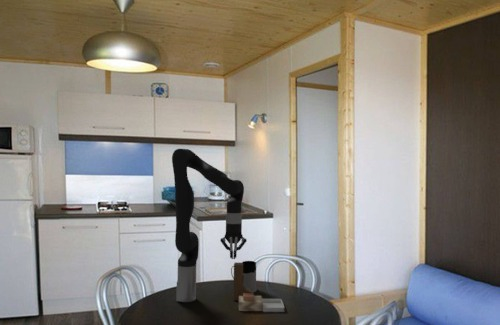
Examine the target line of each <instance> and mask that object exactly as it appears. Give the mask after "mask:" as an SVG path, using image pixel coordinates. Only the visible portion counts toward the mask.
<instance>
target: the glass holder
mask: <svg viewBox="0 0 500 325" xmlns="http://www.w3.org/2000/svg"><path fill="white" fill-rule="evenodd" d="M241 263H243V285H244V287H245V288H247V289H251V290H252V293H255V292H257V262H256V261H254V260H244V261H242V262H241ZM233 269H234V265H233V266H231V268H230V274H231V277H232V279H233V280H234V274H233Z"/></svg>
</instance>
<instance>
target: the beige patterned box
mask: <svg viewBox="0 0 500 325" xmlns="http://www.w3.org/2000/svg"><path fill="white" fill-rule="evenodd" d="M262 299H263V297H262V295H254V301H243V296H239V301H238V312H263V301H262Z"/></svg>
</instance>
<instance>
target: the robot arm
mask: <svg viewBox="0 0 500 325" xmlns="http://www.w3.org/2000/svg"><path fill="white" fill-rule="evenodd" d="M171 163H172V168H173V177H174V201H175V204H174V205H175V235H174V237H175V239H174V242H175V243H174V244H175V247H176V250H178V252H179V253H181V254H180V256H179V258H178V260H177V280H176V295H175V296H176V300H175V301H176V302H179V303H191V302H194V301H196V299H197V297H196V296H197V261H198V258H199V251H200V250H199V246H200V240H199V237H198V235H197V234H196V233H195V232H193V231H191V228H190V224H191V218H192V216H193V212H194V208H195V196H194V195H195V194H194V190H193V188H192V186H191V183H190V180H189V176H188V168H189V169H193V170H195V171H197V172H198V173H199V174H200V175H202V176H203V177H204V179H206V180H207V181H208V182H210V183H212V184H214V185H215V186H217V187H218V188H219V189H220V190H222V191H223V193H225V194H227V195H230V197H229V200H227V201H226V214H225V233H224V236H223V237H221V238H220V243H221V244H222V245H223V247H224V248H225V249H226V250H228V251H229V258H230V259H231V260H235V259H236V258H237V252H238V251H240V250H241V249H242V248H243V246H244V245H245V244H246V242H247V238H245V237H244V236H243V233H242V228H243V226H242V224H243V220H242V219H243V217H242V202H243V198H244V194H245V193H244V192H245V187H244V183H243V181H241V180H239V179H231V178H229V177H228V176H227V174H226V173H225V172H223V171H221V170H219V169H218V168H216V167H214V166H213V165H211V164H209V163H207V162H206V161H205V160H203V159H202V158H200V157H199V156H198V155H197V154H196V153H195V152H194V151H192V150H190V149H189V148H176V149H174V151H173V152H172V156H171ZM226 241H227V242H226ZM240 242H241V243H240ZM227 243H229V245H228V244H227ZM239 243H240V244H239ZM238 244H239V245H238ZM233 248H234V249H233Z"/></svg>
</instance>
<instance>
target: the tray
mask: <svg viewBox="0 0 500 325" xmlns="http://www.w3.org/2000/svg"><path fill="white" fill-rule="evenodd" d="M262 301H263V311H262V312H263V313H285V311H286V310H285V304H284V302H283V299H282V298H262Z"/></svg>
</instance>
